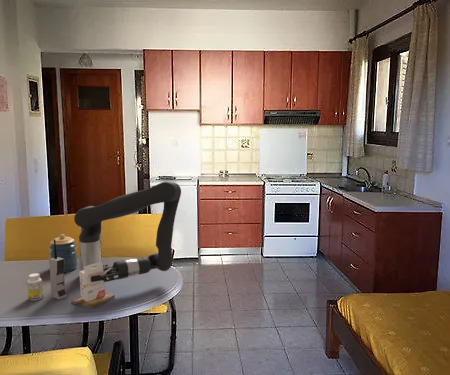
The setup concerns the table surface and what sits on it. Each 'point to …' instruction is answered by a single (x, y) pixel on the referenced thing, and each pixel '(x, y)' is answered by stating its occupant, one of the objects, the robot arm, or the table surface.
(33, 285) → the supplement bottle
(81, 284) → the ink cartridge box
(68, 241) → the canister
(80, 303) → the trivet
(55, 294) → the vintage mobile phone
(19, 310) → the table surface
